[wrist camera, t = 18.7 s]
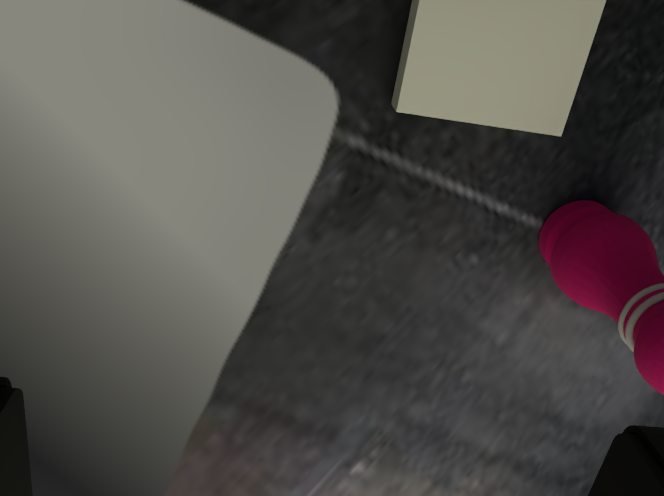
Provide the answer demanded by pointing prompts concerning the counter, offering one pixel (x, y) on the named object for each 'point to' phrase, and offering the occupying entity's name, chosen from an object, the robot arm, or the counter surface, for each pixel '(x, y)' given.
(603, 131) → the counter surface
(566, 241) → the pepper mill
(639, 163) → the counter surface
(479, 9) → the glazed tile
